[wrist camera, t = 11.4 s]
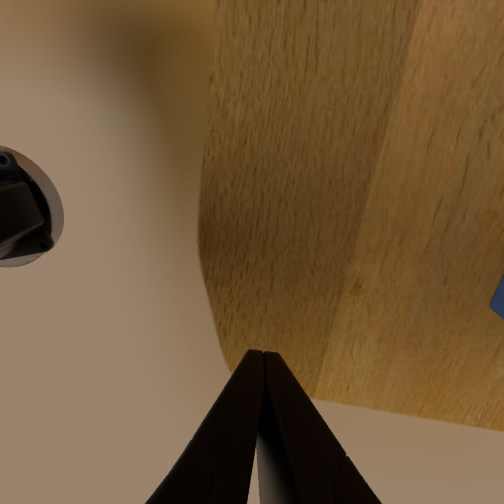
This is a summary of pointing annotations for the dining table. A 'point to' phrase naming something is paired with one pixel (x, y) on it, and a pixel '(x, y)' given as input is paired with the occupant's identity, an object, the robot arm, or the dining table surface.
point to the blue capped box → (498, 300)
